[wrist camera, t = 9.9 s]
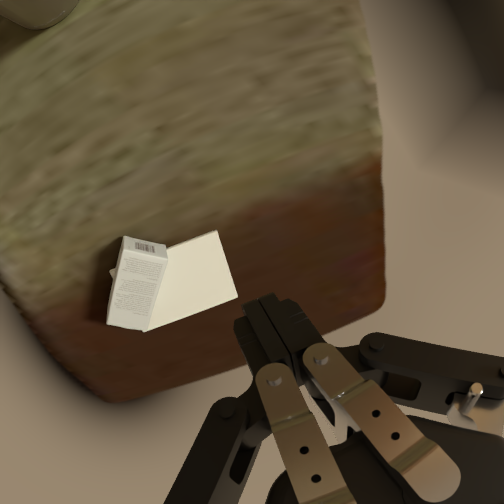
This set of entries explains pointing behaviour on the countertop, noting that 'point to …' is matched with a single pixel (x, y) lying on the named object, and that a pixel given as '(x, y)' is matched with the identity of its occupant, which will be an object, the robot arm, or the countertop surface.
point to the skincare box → (136, 283)
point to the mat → (192, 280)
